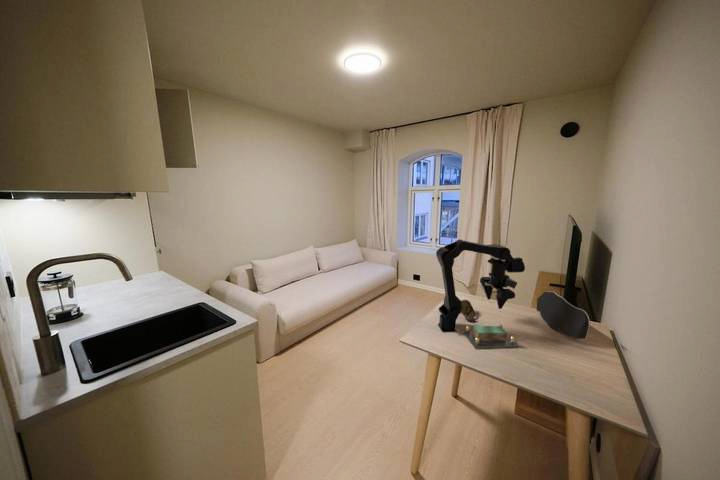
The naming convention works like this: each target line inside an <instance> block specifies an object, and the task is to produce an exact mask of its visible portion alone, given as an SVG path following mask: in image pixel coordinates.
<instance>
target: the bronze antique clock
mask: <svg viewBox="0 0 720 480" xmlns="http://www.w3.org/2000/svg"><path fill="white" fill-rule="evenodd" d="M461 307H462V309H461V313H460V314H461V315H462V316H464V320H466V321H467V322H470V323H473V322H475V321H476V319H477V318H475V317H476V311H475V309H474V307H473V305H472V304H471V302H470V301H469V299H468V300H467V299H462V300H461ZM471 313H473V315H469V314H471Z"/></svg>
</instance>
